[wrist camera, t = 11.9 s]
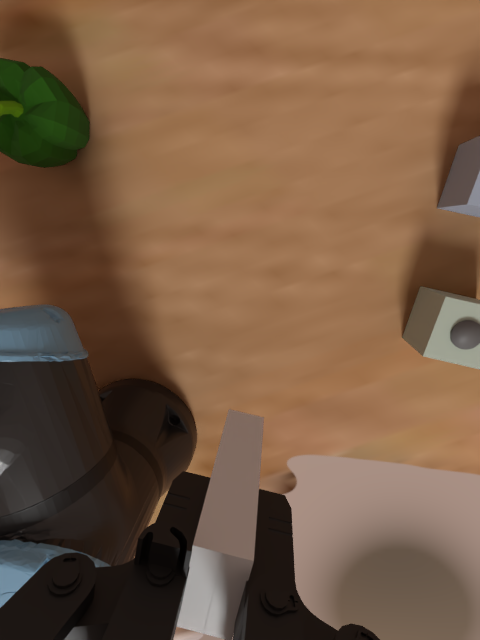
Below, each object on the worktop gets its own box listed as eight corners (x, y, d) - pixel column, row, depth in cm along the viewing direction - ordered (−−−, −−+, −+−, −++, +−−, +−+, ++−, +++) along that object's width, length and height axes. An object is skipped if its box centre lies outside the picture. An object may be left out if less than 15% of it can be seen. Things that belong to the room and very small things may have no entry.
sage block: (457, 350, 39) (489, 372, 33) (401, 337, 40) (424, 357, 34) (477, 299, 38) (516, 312, 32) (420, 286, 38) (447, 297, 32)
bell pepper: (61, 67, 36) (-17, 10, 27) (117, 133, 37) (61, 100, 28) (12, 128, 38) (-77, 95, 29) (66, 189, 39) (-2, 176, 30)
